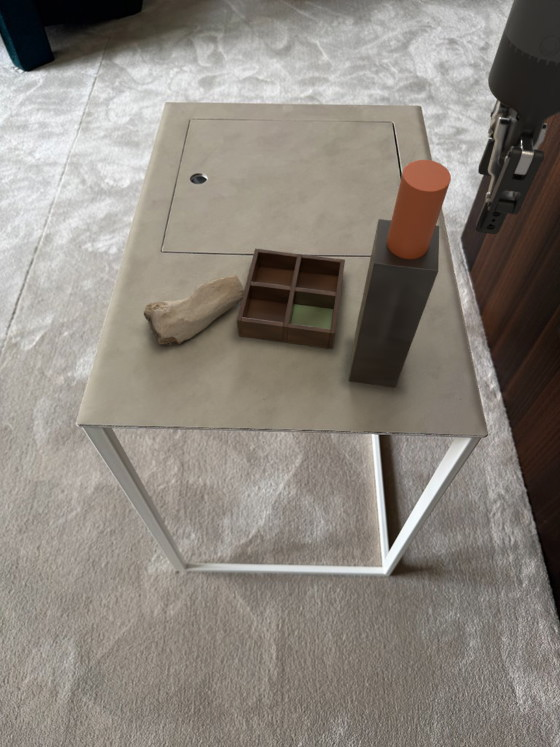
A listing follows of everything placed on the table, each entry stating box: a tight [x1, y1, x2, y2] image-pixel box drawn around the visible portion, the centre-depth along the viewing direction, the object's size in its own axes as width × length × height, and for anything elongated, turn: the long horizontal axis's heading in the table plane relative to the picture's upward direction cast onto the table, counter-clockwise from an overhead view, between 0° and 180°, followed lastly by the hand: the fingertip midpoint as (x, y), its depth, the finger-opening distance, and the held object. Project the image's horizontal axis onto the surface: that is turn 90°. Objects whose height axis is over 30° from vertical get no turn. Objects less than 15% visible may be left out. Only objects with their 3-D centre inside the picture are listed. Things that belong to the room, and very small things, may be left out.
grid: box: [236, 247, 346, 350], centre depth 75 cm, size 13×13×4 cm
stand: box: [348, 218, 440, 388], centre depth 62 cm, size 6×6×22 cm
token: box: [387, 159, 452, 259], centre depth 49 cm, size 4×4×8 cm
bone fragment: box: [143, 274, 245, 345], centre depth 73 cm, size 14×6×5 cm, turn 119°
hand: (486, 200), depth 55 cm, fingers open, 8 cm apart
